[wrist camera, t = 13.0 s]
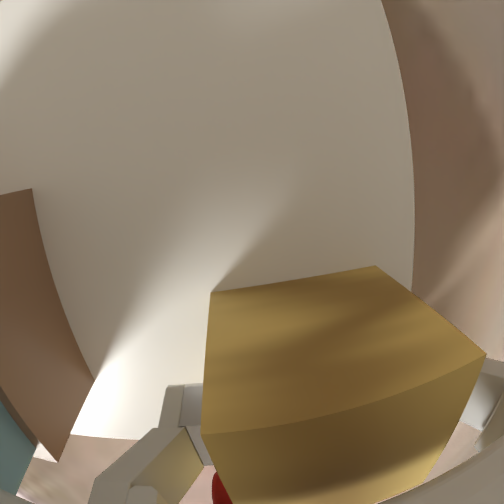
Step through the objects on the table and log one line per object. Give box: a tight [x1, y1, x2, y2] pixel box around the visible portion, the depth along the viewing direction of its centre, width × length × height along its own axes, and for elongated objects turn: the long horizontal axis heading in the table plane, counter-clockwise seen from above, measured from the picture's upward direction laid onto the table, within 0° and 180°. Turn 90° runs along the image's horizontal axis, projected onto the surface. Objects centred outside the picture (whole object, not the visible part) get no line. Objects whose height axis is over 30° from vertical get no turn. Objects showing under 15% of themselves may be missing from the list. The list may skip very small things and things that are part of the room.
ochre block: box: [200, 265, 486, 504], centre depth 7 cm, size 5×5×5 cm
